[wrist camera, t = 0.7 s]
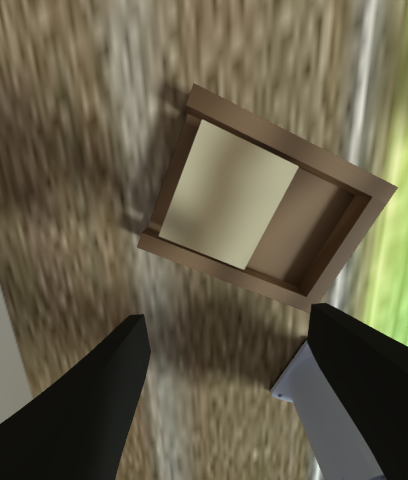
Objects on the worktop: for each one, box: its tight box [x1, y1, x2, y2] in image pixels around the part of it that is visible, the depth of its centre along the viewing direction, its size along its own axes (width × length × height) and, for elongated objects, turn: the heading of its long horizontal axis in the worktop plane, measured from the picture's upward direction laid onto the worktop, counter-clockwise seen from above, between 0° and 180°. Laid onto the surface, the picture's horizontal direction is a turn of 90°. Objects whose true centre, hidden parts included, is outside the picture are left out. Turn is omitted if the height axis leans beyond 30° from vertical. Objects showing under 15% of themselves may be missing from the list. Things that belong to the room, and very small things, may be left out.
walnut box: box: [137, 84, 398, 313], centre depth 15 cm, size 15×11×2 cm
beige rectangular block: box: [159, 119, 299, 270], centre depth 14 cm, size 6×8×2 cm
